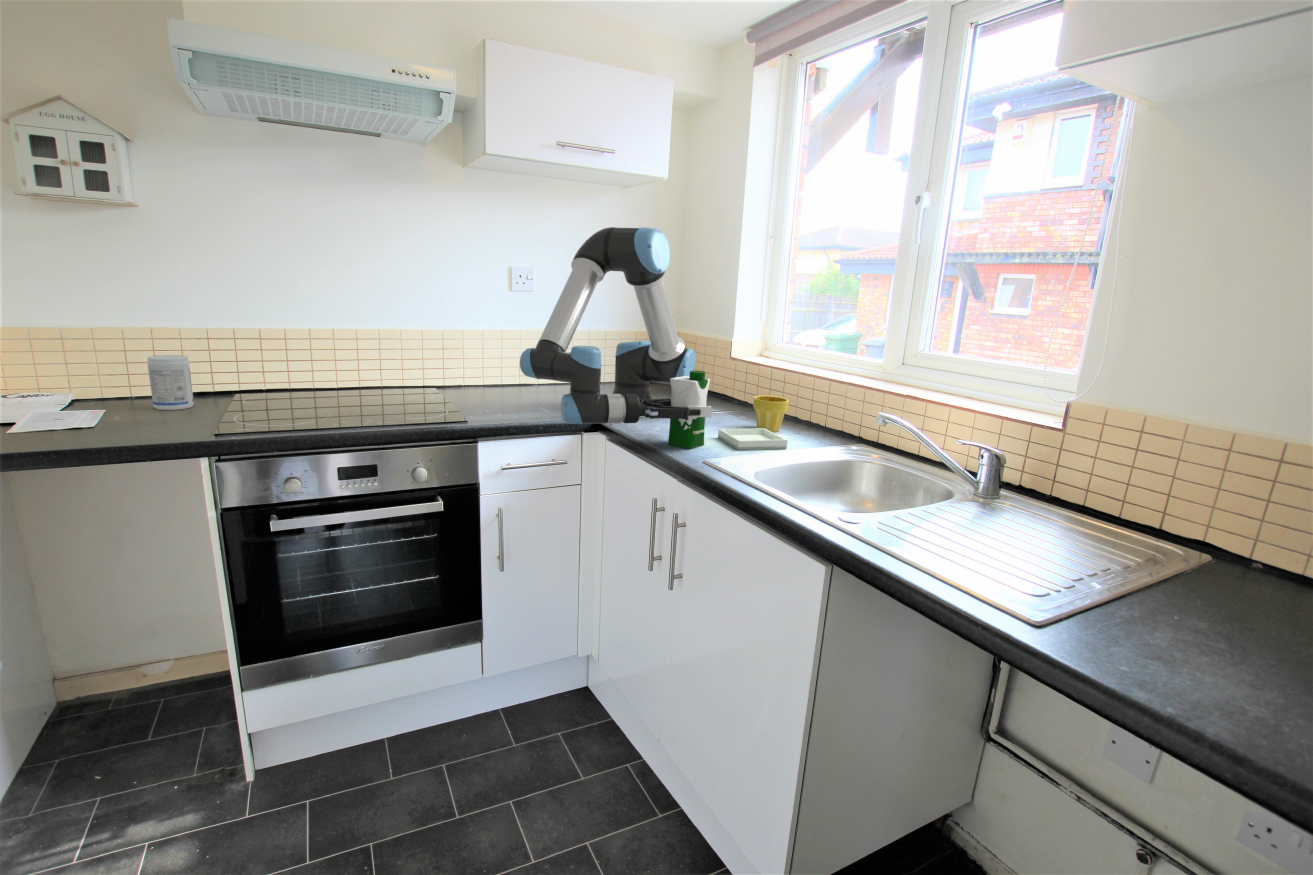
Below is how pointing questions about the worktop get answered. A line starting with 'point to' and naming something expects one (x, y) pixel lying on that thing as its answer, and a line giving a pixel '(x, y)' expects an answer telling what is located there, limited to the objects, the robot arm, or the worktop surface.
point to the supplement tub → (170, 382)
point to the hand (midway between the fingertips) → (704, 408)
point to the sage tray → (752, 439)
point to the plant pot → (770, 411)
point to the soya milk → (691, 395)
